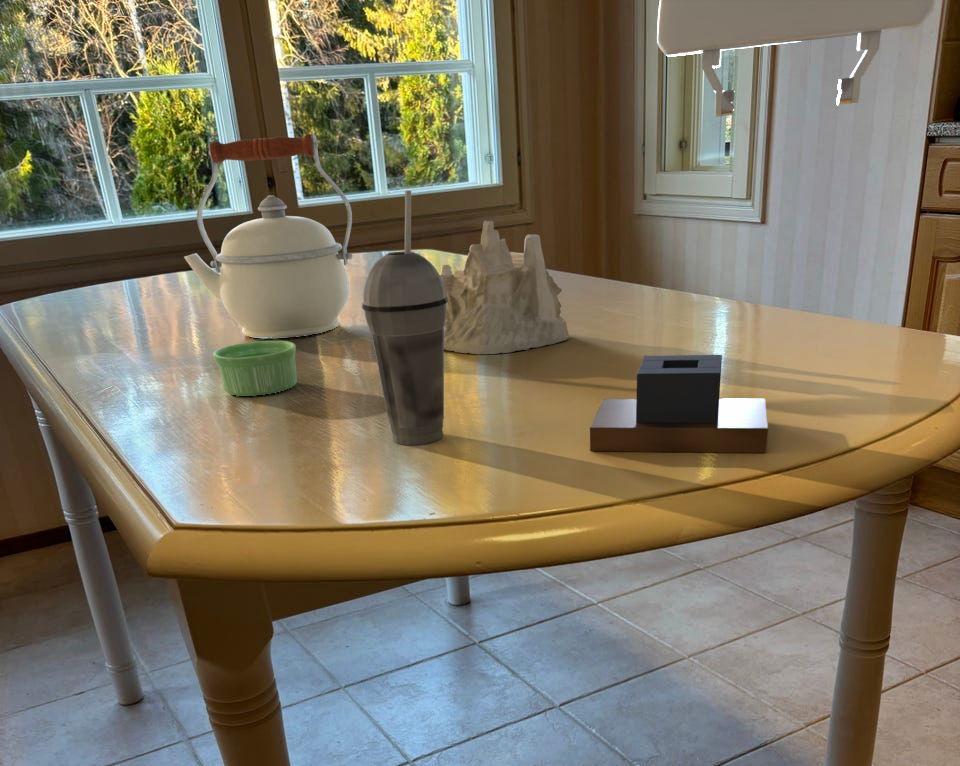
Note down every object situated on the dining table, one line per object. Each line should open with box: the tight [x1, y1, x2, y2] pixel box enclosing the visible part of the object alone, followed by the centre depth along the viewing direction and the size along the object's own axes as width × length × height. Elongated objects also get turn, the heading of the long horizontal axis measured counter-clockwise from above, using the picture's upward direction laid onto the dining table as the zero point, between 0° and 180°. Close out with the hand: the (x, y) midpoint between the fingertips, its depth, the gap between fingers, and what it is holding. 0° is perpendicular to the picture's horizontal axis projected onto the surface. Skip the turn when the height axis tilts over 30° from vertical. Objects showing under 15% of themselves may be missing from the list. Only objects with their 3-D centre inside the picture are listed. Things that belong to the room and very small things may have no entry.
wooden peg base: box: [589, 397, 769, 454], centre depth 78 cm, size 14×9×5 cm, turn 76°
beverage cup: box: [361, 190, 448, 446], centre depth 79 cm, size 7×7×20 cm
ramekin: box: [212, 340, 298, 397], centre depth 103 cm, size 9×9×4 cm
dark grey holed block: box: [635, 354, 723, 423], centre depth 77 cm, size 6×6×4 cm
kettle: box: [183, 133, 353, 338], centre depth 130 cm, size 25×18×25 cm
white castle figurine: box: [439, 220, 570, 356], centre depth 116 cm, size 16×16×15 cm
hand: (784, 110), depth 74 cm, fingers open, 8 cm apart
